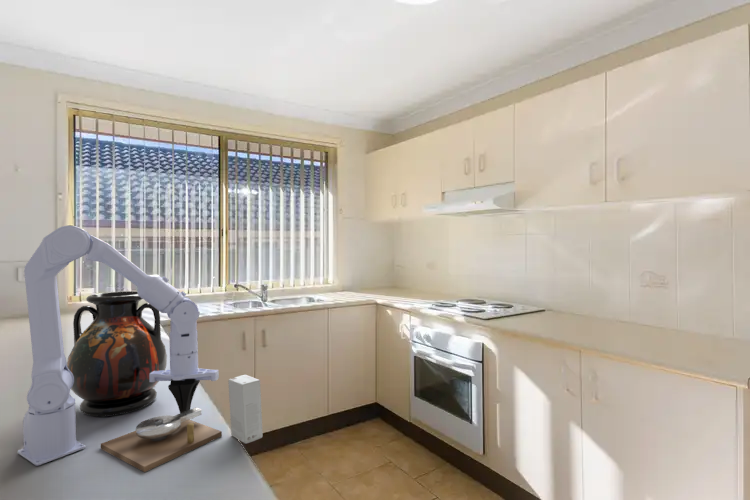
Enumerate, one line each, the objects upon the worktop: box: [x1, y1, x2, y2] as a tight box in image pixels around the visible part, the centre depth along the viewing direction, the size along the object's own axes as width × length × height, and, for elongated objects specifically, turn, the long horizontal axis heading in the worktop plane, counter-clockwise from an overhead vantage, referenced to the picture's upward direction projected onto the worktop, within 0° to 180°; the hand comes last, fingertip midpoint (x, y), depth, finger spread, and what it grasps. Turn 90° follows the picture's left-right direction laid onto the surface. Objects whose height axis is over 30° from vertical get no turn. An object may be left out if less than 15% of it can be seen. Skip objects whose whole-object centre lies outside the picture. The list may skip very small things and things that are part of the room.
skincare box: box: [227, 374, 264, 444], centre depth 86 cm, size 6×4×12 cm
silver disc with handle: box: [135, 407, 202, 439], centre depth 86 cm, size 13×8×2 cm, turn 147°
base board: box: [100, 419, 223, 473], centre depth 84 cm, size 16×16×4 cm
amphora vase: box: [66, 290, 168, 418], centre depth 104 cm, size 22×22×28 cm
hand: (185, 412), depth 93 cm, fingers closed
